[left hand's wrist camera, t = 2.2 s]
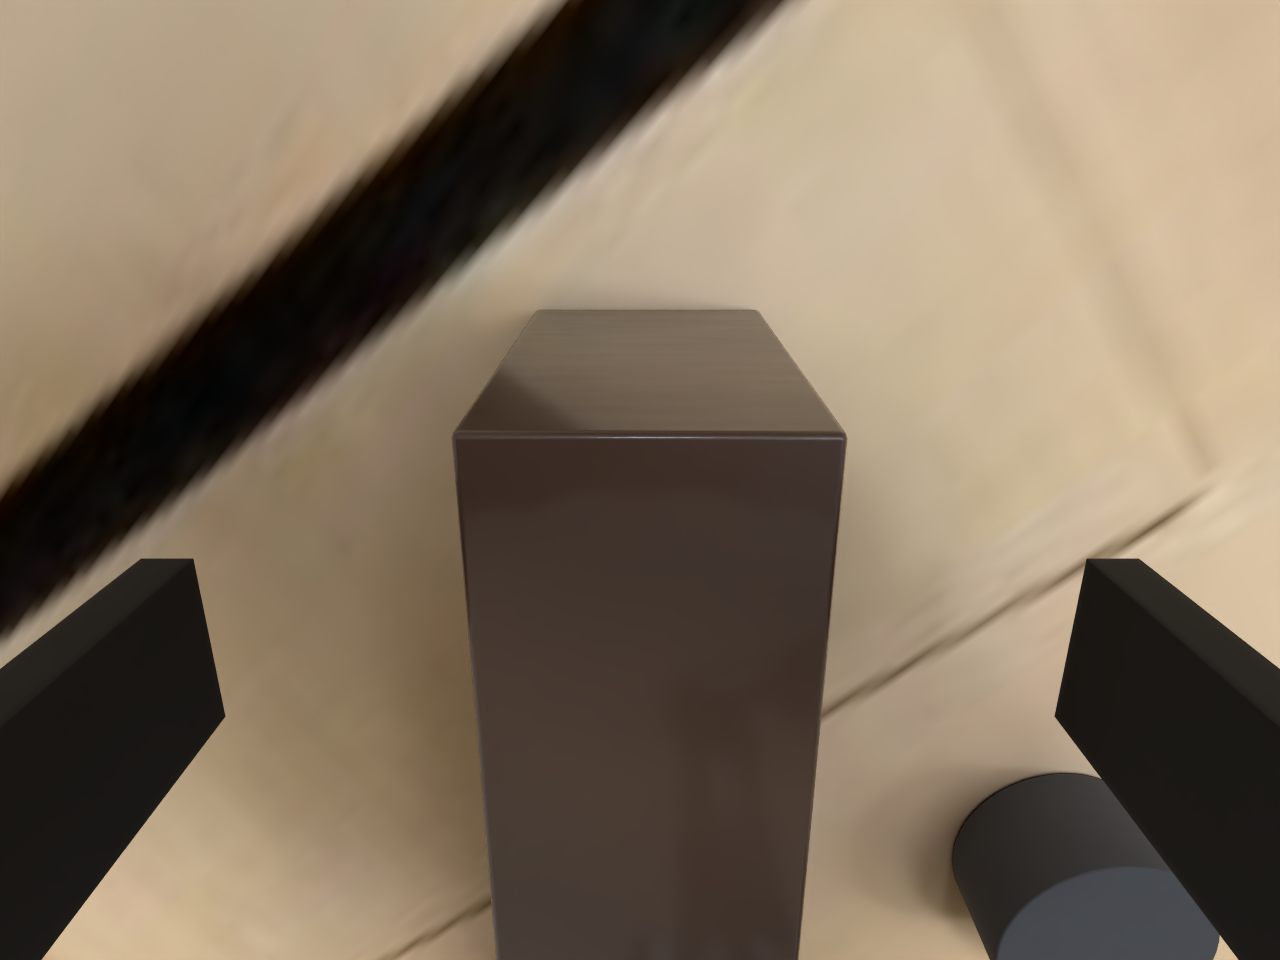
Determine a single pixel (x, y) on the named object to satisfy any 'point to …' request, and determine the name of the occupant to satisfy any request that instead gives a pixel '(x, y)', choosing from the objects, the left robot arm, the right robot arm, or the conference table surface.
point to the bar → (648, 632)
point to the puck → (1072, 879)
